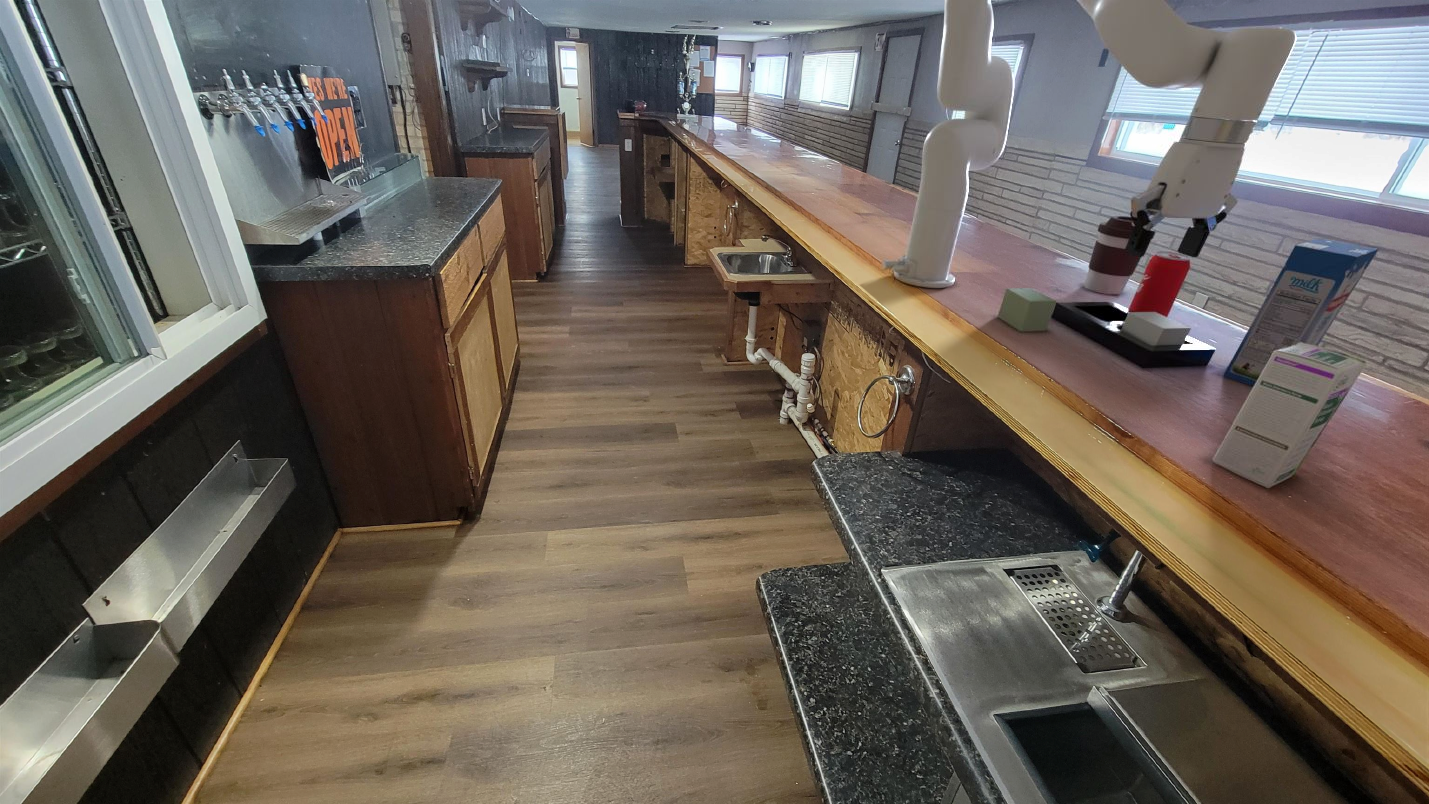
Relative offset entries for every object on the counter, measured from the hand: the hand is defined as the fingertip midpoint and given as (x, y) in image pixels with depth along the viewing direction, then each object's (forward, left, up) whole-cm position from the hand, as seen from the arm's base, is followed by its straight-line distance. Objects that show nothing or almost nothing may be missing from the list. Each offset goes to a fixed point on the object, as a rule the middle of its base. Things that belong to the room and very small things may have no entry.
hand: (1160, 254), depth 88 cm
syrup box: (-12, -34, -16) cm, 39 cm away
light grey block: (+2, -2, -16) cm, 16 cm away
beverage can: (+17, +12, -16) cm, 26 cm away
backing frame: (+3, +2, -16) cm, 16 cm away
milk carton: (+14, -13, -16) cm, 24 cm away
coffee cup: (+21, +28, -16) cm, 38 cm away
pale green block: (-11, +10, -16) cm, 22 cm away
